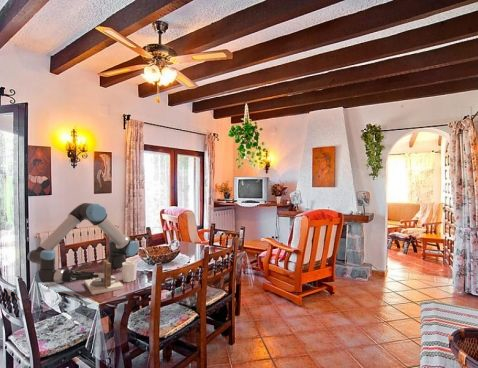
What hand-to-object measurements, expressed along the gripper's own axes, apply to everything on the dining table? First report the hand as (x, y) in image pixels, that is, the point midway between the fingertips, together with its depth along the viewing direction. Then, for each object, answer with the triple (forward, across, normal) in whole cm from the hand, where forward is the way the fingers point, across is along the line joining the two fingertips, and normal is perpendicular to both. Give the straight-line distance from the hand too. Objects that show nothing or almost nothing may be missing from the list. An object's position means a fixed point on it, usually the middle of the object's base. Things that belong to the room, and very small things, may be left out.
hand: (104, 275), depth 180 cm
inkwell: (-24, -27, -10) cm, 37 cm away
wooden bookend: (-1, -5, -7) cm, 9 cm away
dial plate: (-3, -8, -9) cm, 13 cm away
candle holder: (+11, -18, -10) cm, 23 cm away
